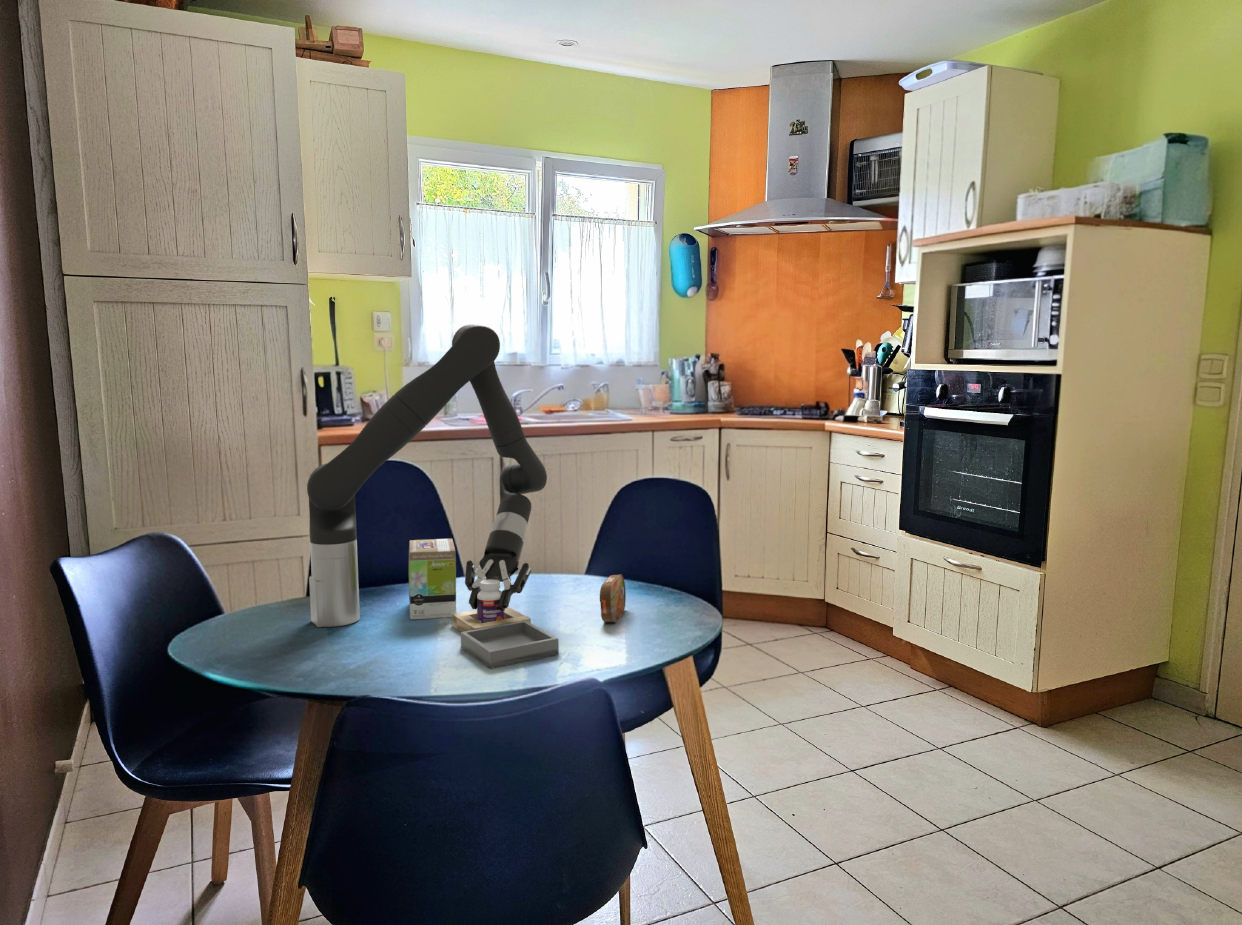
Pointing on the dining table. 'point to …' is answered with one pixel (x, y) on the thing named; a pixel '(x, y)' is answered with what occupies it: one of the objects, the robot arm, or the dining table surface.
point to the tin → (612, 598)
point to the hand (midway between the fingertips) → (487, 607)
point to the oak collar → (469, 622)
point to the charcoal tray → (509, 644)
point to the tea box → (432, 578)
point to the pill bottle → (489, 601)
